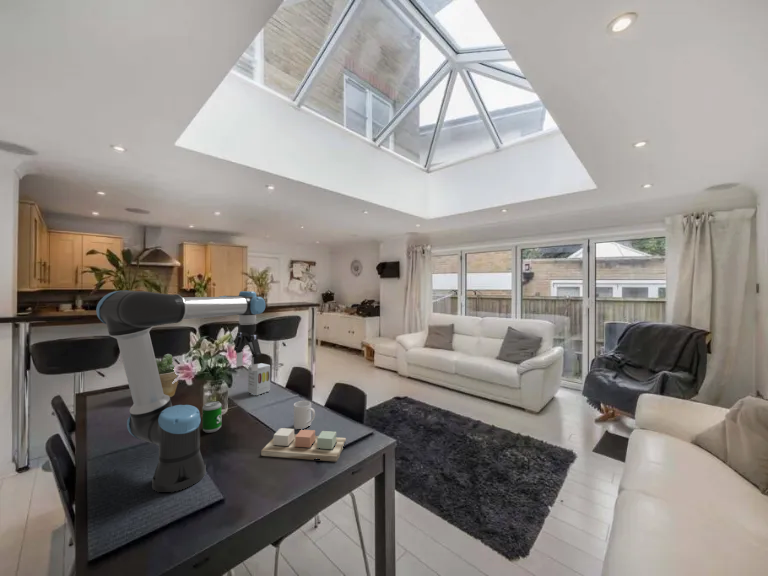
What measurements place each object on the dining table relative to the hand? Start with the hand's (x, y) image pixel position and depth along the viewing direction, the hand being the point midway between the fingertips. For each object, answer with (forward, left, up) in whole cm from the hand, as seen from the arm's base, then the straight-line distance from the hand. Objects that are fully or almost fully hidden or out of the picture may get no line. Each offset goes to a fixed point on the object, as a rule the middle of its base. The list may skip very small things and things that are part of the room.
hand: (246, 368), depth 146 cm
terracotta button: (-18, -36, -24) cm, 47 cm away
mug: (0, -29, -26) cm, 39 cm away
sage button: (-18, -45, -24) cm, 54 cm away
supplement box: (+40, +16, -27) cm, 50 cm away
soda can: (-8, +12, -27) cm, 30 cm away
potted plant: (+26, +68, -26) cm, 77 cm away
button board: (-18, -36, -26) cm, 48 cm away
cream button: (-18, -27, -24) cm, 41 cm away
